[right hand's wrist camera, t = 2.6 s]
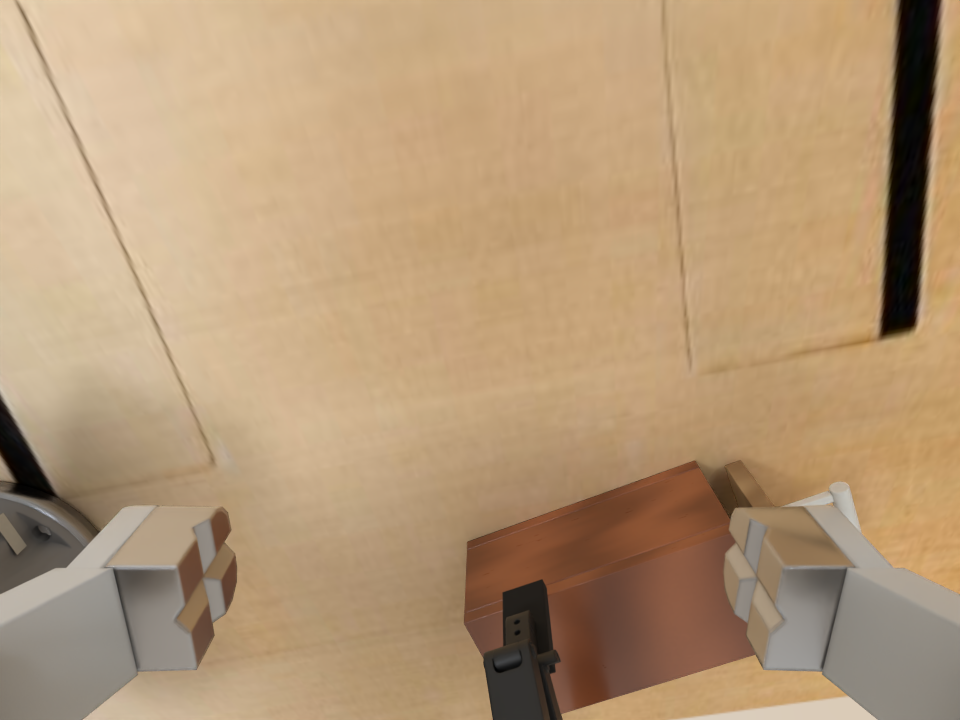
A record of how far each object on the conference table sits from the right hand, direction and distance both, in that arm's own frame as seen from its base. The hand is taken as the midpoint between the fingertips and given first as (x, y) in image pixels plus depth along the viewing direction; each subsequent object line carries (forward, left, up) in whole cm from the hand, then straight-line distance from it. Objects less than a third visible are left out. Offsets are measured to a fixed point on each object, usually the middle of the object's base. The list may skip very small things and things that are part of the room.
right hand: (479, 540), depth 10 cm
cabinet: (+9, +26, -33) cm, 43 cm away
